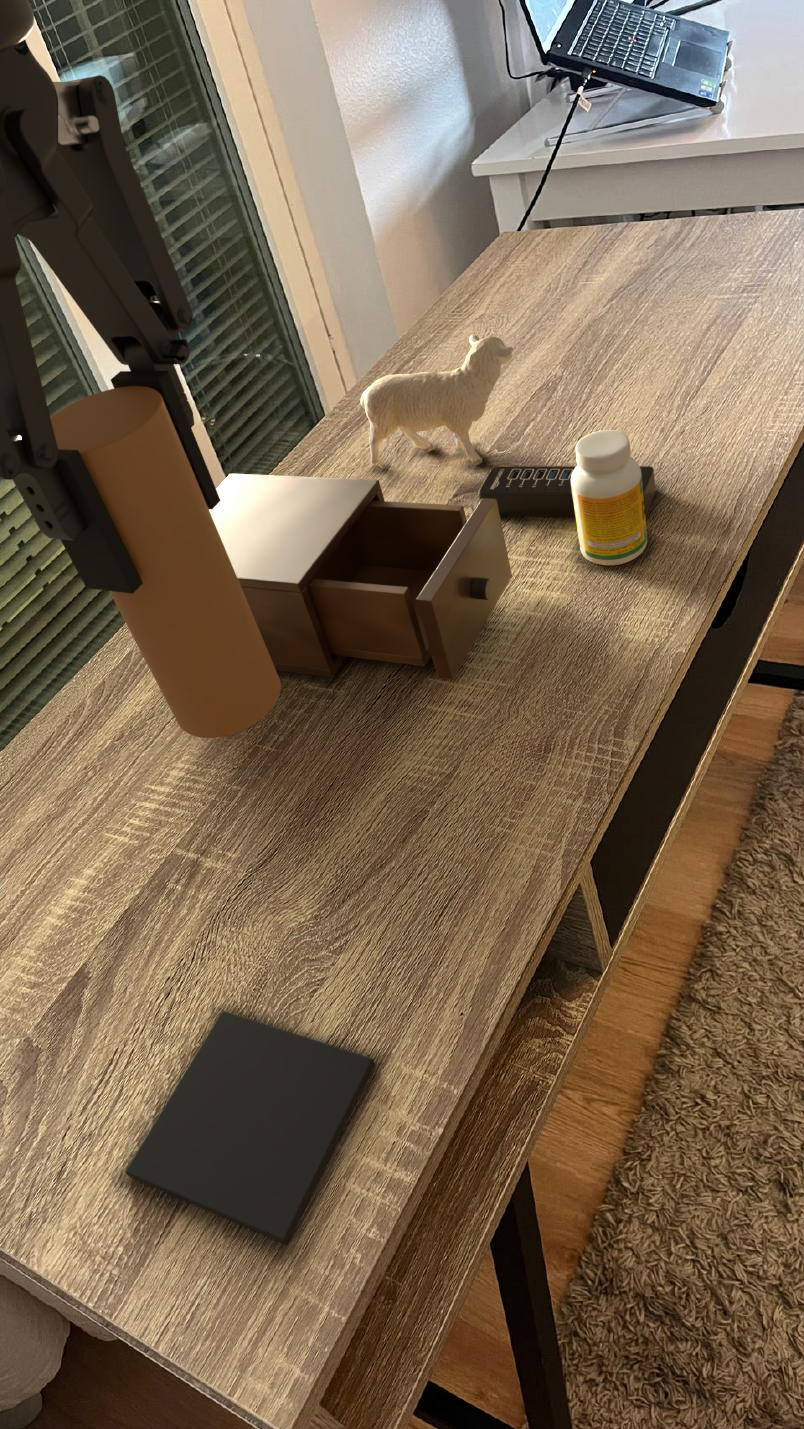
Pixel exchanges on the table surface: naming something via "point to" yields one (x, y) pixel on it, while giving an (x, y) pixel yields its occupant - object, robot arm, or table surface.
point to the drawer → (412, 583)
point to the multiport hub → (542, 490)
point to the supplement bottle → (608, 499)
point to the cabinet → (288, 554)
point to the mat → (252, 1124)
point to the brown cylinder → (173, 564)
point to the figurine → (436, 399)
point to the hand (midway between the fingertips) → (155, 542)
